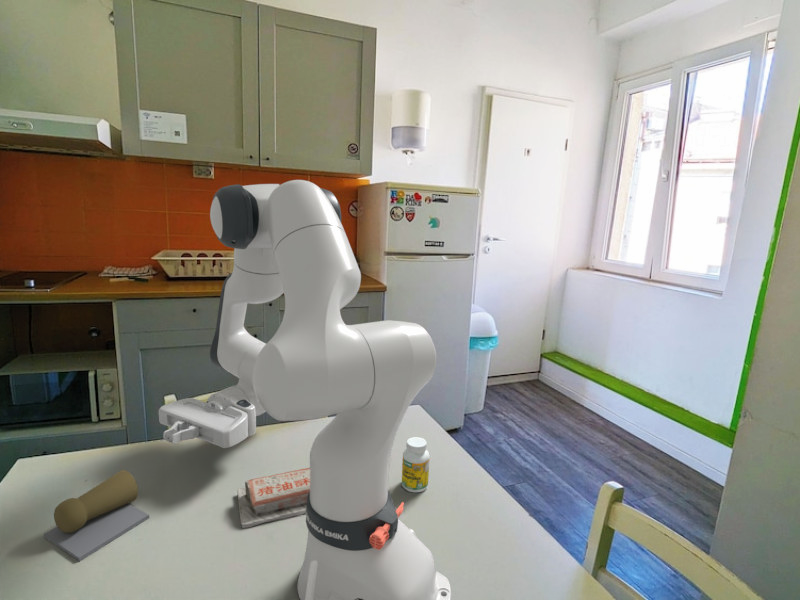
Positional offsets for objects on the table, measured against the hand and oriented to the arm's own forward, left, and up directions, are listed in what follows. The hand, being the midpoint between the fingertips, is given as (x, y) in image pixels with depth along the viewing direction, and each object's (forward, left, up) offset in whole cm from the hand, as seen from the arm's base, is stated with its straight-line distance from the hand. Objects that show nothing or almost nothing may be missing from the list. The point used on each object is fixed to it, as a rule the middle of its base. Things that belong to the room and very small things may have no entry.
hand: (168, 438), depth 82 cm
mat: (0, +13, -10) cm, 17 cm away
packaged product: (-23, -8, -10) cm, 26 cm away
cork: (+2, +7, -7) cm, 10 cm away
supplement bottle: (-41, -24, -10) cm, 49 cm away
